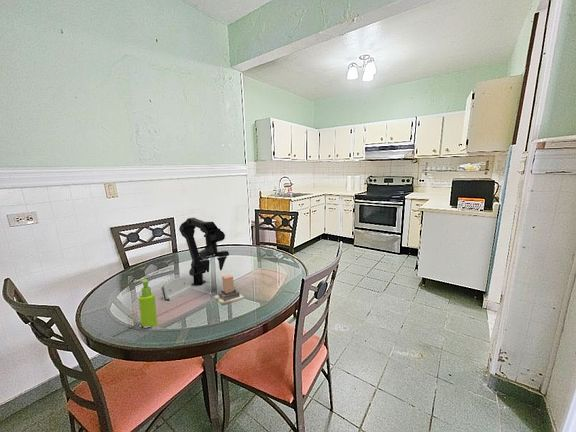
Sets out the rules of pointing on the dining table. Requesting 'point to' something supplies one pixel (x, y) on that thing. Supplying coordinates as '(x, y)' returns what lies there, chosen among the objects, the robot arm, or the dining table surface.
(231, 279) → the brown rectangular block
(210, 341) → the dining table surface
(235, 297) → the square socket base
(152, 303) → the soap dispenser
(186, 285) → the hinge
